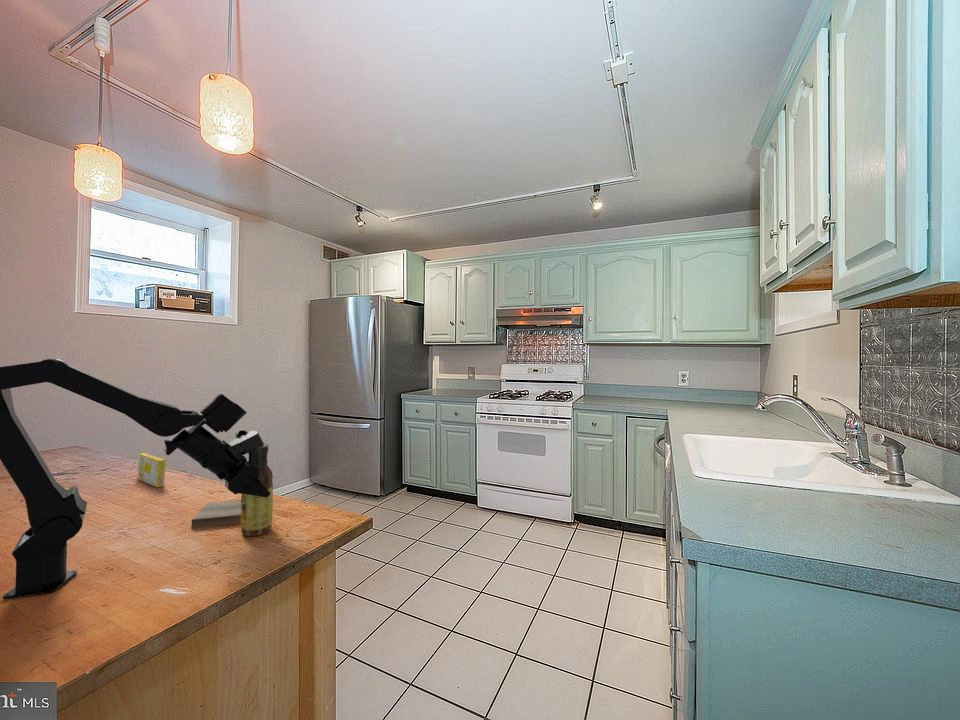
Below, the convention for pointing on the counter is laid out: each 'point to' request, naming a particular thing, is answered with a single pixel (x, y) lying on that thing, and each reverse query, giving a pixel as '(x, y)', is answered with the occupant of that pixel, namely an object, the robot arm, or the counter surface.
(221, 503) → the trivet
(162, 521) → the counter surface
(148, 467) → the candy box
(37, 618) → the counter surface
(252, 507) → the sauce bottle
